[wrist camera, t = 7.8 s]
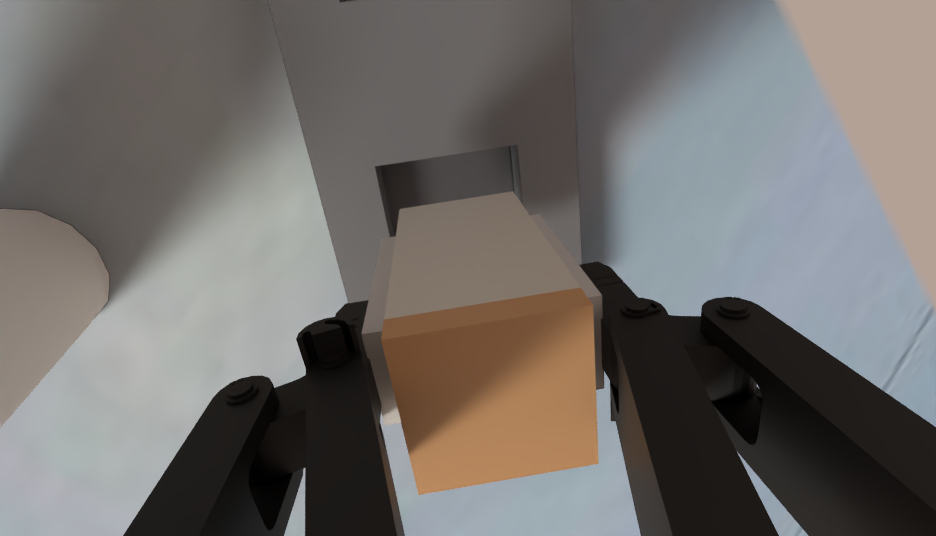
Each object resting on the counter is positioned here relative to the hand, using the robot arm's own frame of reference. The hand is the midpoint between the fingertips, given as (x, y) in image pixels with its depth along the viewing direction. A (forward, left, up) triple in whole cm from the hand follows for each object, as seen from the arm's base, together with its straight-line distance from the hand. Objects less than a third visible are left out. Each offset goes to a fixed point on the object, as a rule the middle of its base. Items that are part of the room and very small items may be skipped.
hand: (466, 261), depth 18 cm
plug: (0, 0, -1) cm, 1 cm away
